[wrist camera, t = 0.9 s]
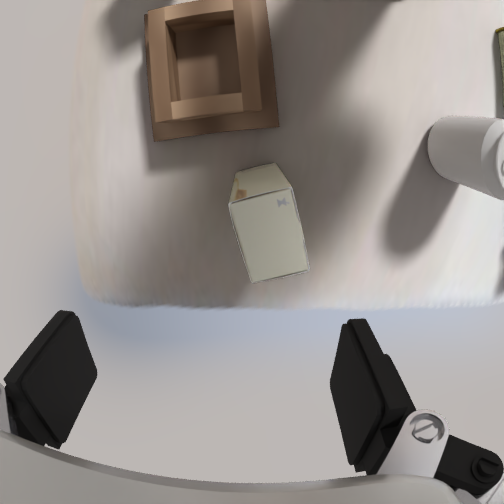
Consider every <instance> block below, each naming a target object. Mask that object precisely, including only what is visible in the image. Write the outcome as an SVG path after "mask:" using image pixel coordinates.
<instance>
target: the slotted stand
mask: <svg viewBox="0 0 504 504" xmlns="http://www.w3.org/2000/svg"><path fill="white" fill-rule="evenodd" d="M144 21H145V45H146V62H147V76H148V88H149V100H150V110H151V119H152V128H153V137H154V142H156V141H162V140H168V139H174V138H181V137H187V136H194V135H202V134H210V133H218V132H227V131H236V130H247V129H258V128H272V127H279V120H278V108H277V97H276V87H275V77H274V67H273V58H272V48H271V39H270V31H269V22H268V14H267V6H266V0H198V1H192V2H186V3H181V4H176V5H171V6H166V7H162V8H158V9H153V10H149V11H148V14H145V15H144Z"/></svg>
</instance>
